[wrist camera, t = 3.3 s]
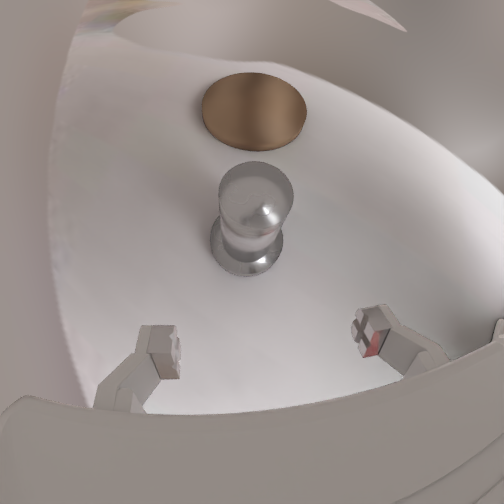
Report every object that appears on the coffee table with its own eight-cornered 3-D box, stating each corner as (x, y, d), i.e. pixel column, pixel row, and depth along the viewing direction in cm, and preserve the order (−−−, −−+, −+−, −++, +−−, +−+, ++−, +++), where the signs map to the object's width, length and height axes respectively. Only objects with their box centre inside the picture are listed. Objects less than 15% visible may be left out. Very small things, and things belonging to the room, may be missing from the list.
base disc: (294, 82, 32) (296, 74, 31) (312, 151, 29) (315, 144, 28) (203, 81, 31) (203, 73, 29) (201, 153, 28) (200, 145, 26)
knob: (276, 208, 27) (301, 148, 17) (284, 274, 25) (317, 242, 16) (210, 211, 26) (201, 150, 17) (212, 278, 25) (202, 248, 15)
